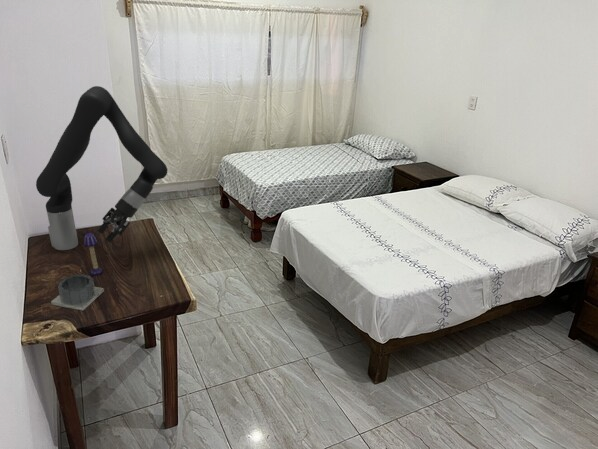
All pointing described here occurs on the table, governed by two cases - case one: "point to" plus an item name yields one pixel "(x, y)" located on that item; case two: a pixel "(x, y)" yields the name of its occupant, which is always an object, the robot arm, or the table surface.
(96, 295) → the collar stand
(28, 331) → the table surface
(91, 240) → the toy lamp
